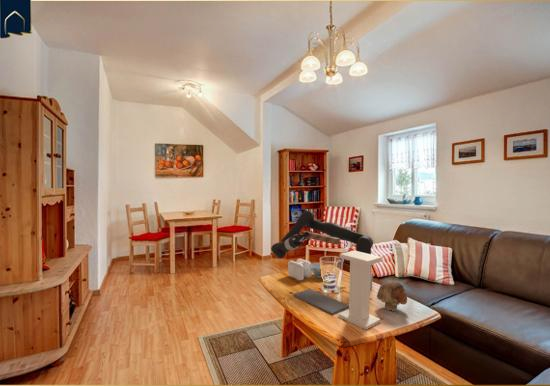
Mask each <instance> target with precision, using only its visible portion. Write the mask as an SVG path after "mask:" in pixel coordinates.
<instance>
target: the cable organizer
mask: <svg viewBox="0 0 550 386" xmlns="http://www.w3.org/2000/svg"><path fill="white" fill-rule="evenodd" d="M311 264H312V262H311V261H309V260H305V259H303V258H297V259H296V261H294V260H289V261H288V262H287V274H288V276H289V277H291V278H292V279H296V280H297V281H303V280H304V279H305V278H307V279H309V278H311V277H312V271H311V267H312V265H311ZM304 277H305V278H304Z"/></svg>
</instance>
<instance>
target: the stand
mask: <svg viewBox="0 0 550 386" xmlns="http://www.w3.org/2000/svg"><path fill="white" fill-rule="evenodd" d="M339 259H343V260H346V261H349V288H348V289H349V291H348V294H349V296H348V305H349V308H347V309H345V310H342V311H340V312H338V313H337V314H338V318H340V319H342V320H345V321H346V322H349V323H351V324H353V325H355V326H357V327H360V328H361V329H363V328H364V329H363V330H365V329H367V330H369V329H370V328H372V327H374V326H376V325H378V324H380V323H381V318H379V317H376V316H374V315H372V314H370V306H371V305H370V303H371V301H370V300H371V289H370V274H371V273H372V269H371V264H372V265H374V264H377V263H380V262H383V256H379V255H376V254H372V253H371V254H367V253H363V252H359V251H356V249H355V250H351V251H346V252H342V253H339ZM379 322H380V323H379ZM377 323H378V324H377ZM375 324H376V325H375ZM373 325H374V326H373ZM369 327H370V328H369ZM368 328H369V329H368Z"/></svg>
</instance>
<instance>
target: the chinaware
mask: <svg viewBox="0 0 550 386" xmlns="http://www.w3.org/2000/svg"><path fill="white" fill-rule="evenodd" d="M320 263H321V262H311V265H312V267H311V273H313V275H315V277H316V278H321V269H320Z"/></svg>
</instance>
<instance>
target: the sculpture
mask: <svg viewBox="0 0 550 386" xmlns="http://www.w3.org/2000/svg"><path fill="white" fill-rule="evenodd" d="M376 298H377V300H379V301H381V302H382V303H384V309H385V310H387V311H391V310H392V312H396V311H397V310H398V306H399V305H403V306H404V305H406V304H407V303H408V296H407V292H406V290H405V287H404V285H403V284H402V283H401V282H397V281H394V280H386V281H384V282H383V283H381V284H380V286H379V287H378V291H377V294H376ZM395 310H396V311H395Z"/></svg>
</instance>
